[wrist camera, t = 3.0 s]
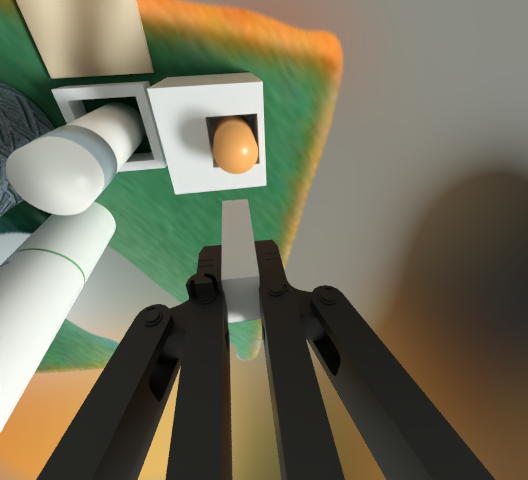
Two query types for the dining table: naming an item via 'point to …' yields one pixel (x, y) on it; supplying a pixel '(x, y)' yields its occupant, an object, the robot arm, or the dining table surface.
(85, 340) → the dining table surface
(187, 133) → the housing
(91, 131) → the cylinder
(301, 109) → the dining table surface
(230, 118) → the brown egg
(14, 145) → the vase
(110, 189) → the dining table surface
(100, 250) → the cylindrical container
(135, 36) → the coaster
